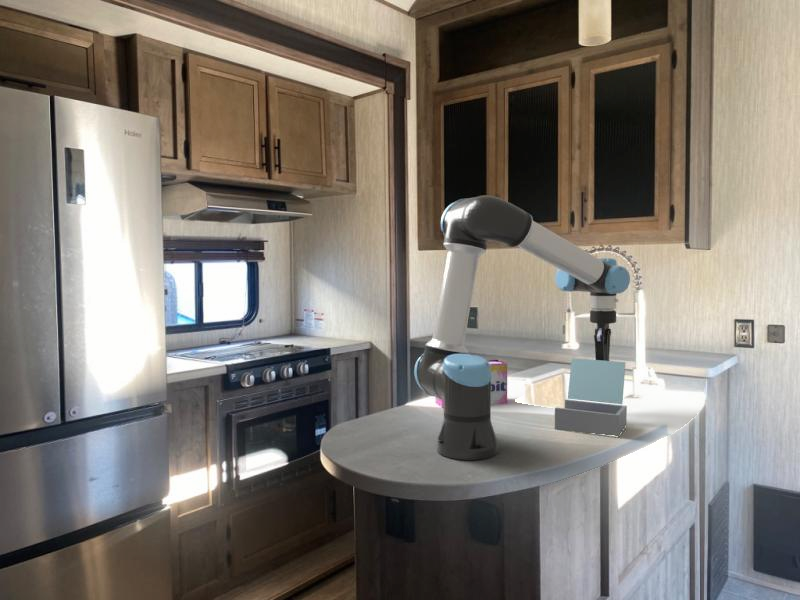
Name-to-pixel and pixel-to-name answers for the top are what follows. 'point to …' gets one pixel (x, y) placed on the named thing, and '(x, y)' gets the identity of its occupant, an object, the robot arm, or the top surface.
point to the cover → (596, 380)
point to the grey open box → (591, 417)
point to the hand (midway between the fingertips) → (602, 386)
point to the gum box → (494, 383)
